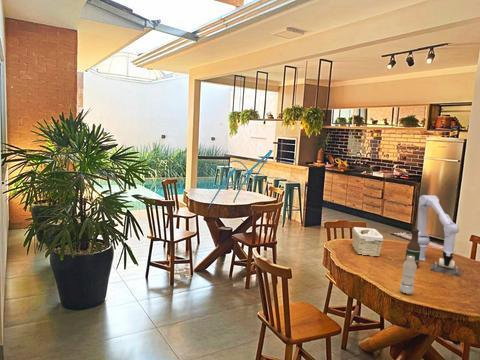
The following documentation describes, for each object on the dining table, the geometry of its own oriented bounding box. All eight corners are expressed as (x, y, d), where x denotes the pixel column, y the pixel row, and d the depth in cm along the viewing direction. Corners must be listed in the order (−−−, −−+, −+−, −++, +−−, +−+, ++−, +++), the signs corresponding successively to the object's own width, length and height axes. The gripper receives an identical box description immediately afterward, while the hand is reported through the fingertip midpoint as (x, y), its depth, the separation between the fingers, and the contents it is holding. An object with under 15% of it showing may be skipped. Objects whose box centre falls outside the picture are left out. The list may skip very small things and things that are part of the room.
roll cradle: (430, 270, 225) (431, 264, 225) (431, 265, 234) (431, 259, 234) (460, 276, 218) (461, 270, 217) (460, 271, 227) (460, 265, 226)
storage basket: (350, 245, 269) (352, 226, 267) (373, 248, 267) (375, 228, 265) (356, 255, 245) (359, 234, 243) (381, 258, 243) (384, 237, 241)
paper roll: (438, 266, 226) (439, 259, 225) (438, 264, 230) (439, 256, 229) (454, 270, 221) (455, 262, 221) (454, 267, 226) (455, 259, 225)
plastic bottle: (396, 290, 190) (401, 253, 188) (409, 290, 191) (413, 253, 189) (403, 295, 184) (407, 257, 182) (415, 296, 185) (420, 258, 182)
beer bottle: (417, 265, 233) (422, 229, 230) (418, 269, 226) (423, 231, 223) (404, 263, 236) (409, 227, 233) (404, 266, 229) (409, 229, 226)
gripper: (457, 247, 216) (454, 269, 217) (456, 242, 228) (453, 262, 230) (443, 245, 219) (440, 266, 221) (443, 239, 232) (440, 260, 233)
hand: (446, 264), depth 225 cm, fingers closed on paper roll, 5 cm apart
